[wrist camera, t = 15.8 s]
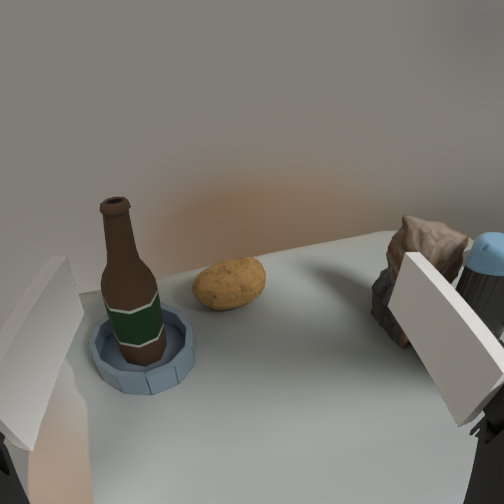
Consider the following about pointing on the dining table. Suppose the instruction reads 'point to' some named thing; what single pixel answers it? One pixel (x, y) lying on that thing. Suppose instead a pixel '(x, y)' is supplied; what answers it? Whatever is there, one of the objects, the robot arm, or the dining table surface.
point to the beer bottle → (130, 290)
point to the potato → (230, 283)
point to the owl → (432, 248)
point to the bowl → (156, 374)
